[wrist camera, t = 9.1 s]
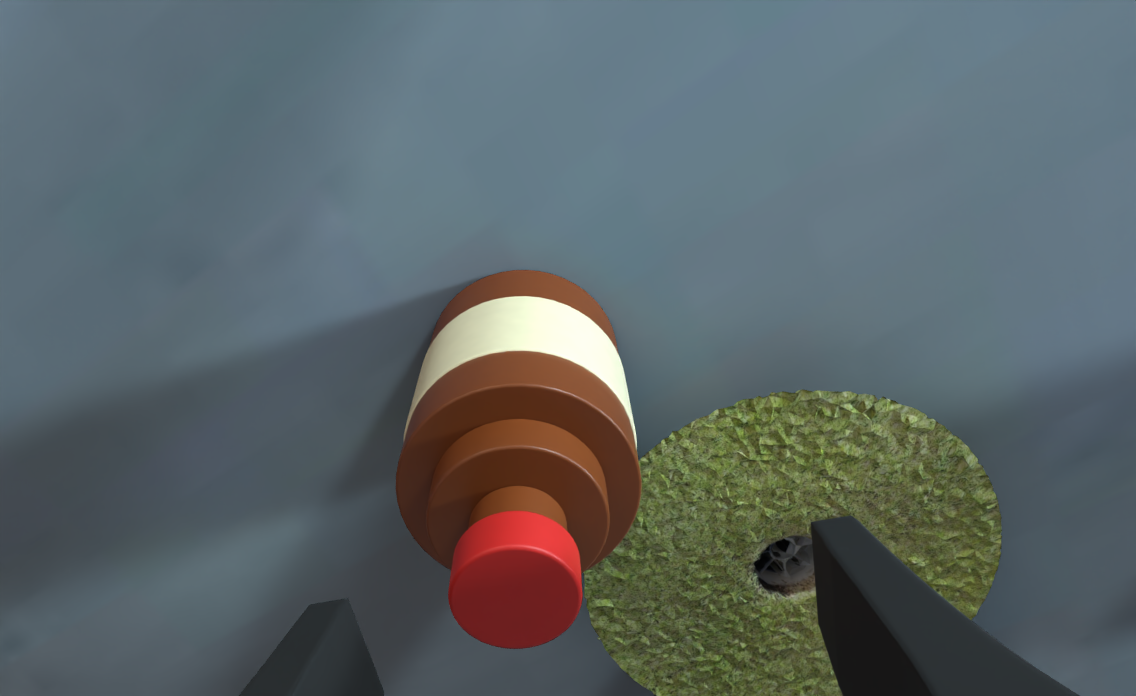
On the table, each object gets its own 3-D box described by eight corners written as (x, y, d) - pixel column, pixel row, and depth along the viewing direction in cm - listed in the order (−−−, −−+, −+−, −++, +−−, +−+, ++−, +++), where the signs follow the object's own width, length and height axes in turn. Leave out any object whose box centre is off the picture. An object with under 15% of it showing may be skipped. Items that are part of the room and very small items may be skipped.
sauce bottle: (656, 328, 22) (724, 560, 14) (554, 466, 24) (561, 744, 15) (489, 230, 21) (458, 422, 12) (395, 384, 22) (312, 640, 14)
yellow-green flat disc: (923, 674, 27) (949, 724, 26) (573, 673, 27) (575, 724, 25) (1015, 360, 23) (1055, 396, 21) (589, 352, 22) (593, 388, 20)
